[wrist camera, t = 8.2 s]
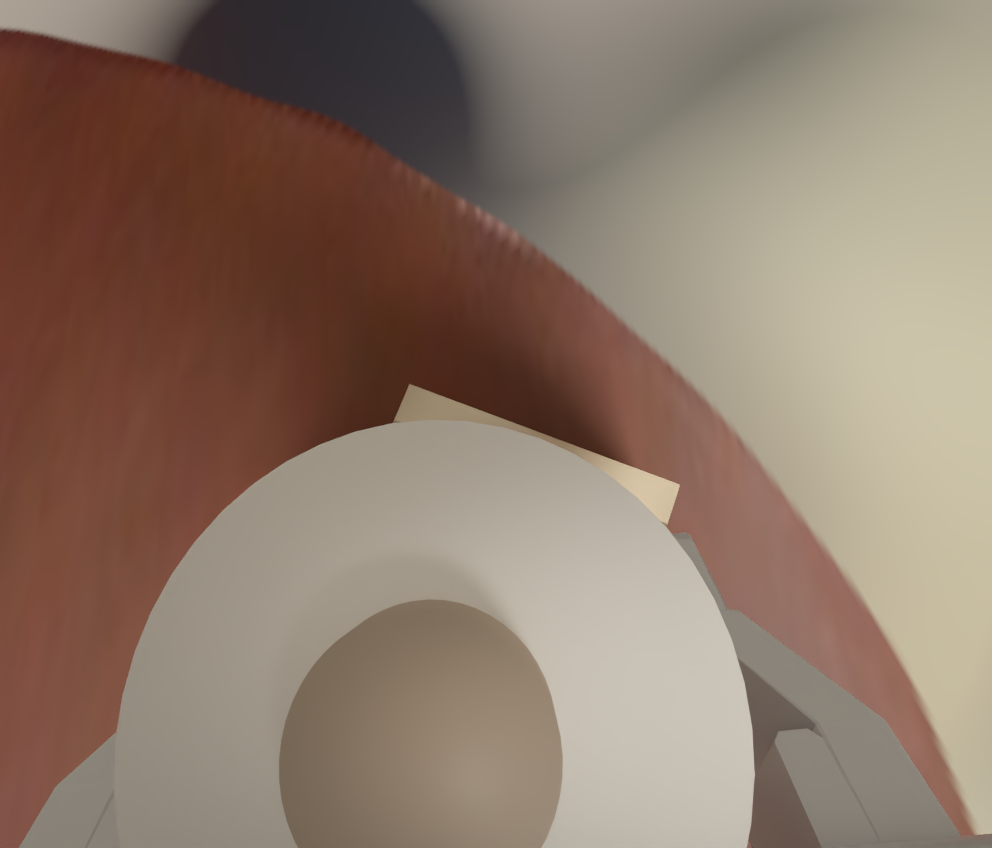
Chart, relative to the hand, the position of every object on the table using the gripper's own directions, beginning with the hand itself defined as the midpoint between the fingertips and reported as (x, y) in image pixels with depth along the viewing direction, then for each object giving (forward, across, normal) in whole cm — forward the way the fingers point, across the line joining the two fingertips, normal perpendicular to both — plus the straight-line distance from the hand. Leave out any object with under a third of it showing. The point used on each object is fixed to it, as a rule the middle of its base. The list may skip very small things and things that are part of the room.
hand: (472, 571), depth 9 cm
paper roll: (+4, 0, +5) cm, 7 cm away
